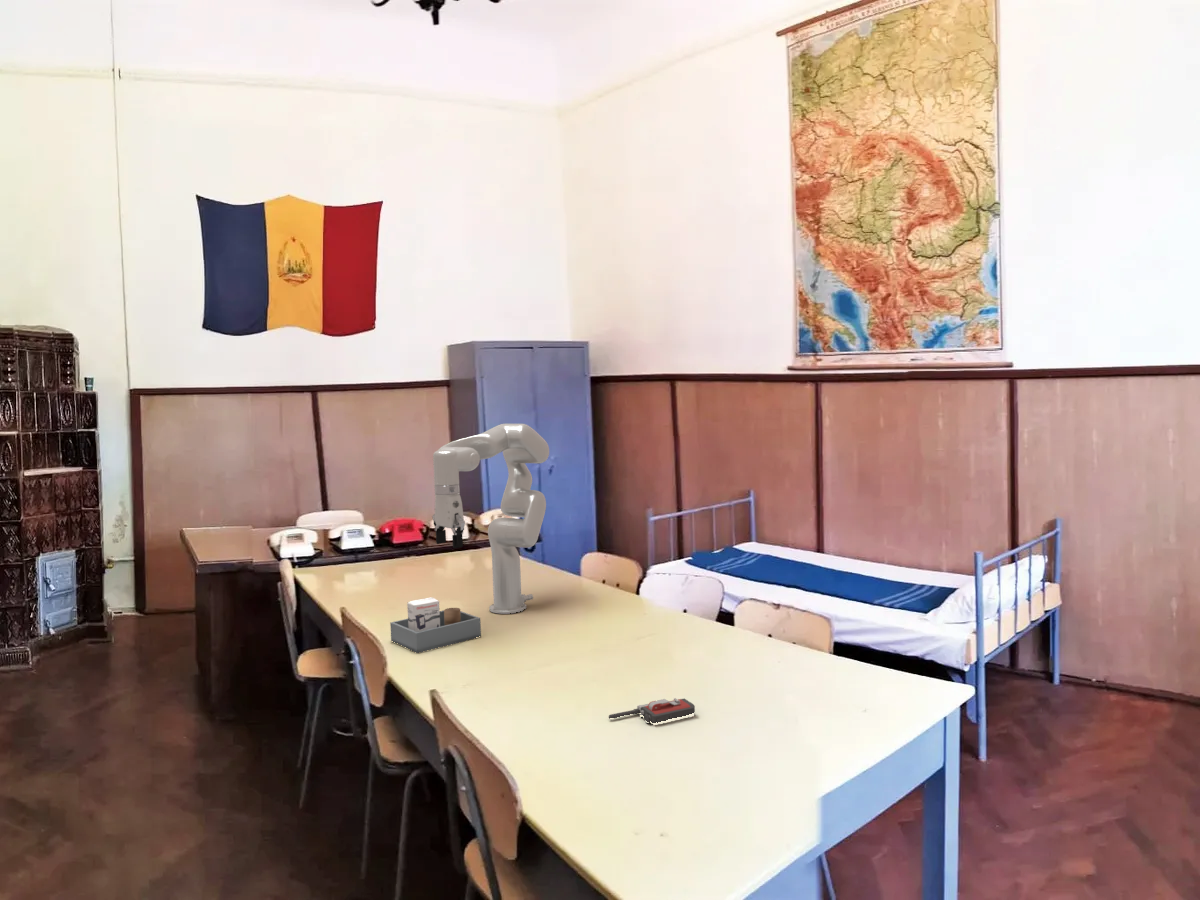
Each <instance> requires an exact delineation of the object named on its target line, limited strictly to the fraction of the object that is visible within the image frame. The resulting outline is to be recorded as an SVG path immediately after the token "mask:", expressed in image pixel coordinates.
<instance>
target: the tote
mask: <svg viewBox="0 0 1200 900" xmlns="http://www.w3.org/2000/svg"><path fill="white" fill-rule="evenodd" d="M444 610H445V609H443V610H439V611H440V627H437V628H433V629H429V630H425V631H420V632H416V631H413V630H411V629H409V627H408V618H404V619H400V620H396V621H392V622H389V625H390V642H391V641H393V642H395V643H398V644H400V645H402V646H404V647H406V648H408V649H410V650H409V651H411V650H412V651H411V652H413V651H414V653H415V652H416V653H415V654H420V653H419V652H421V653H424V652H423V651H425V652H428V651H427V650H429V651H432V650H431V649H433V650H436V649H435V648H437V649H439V648H438V647H441V648H444V647H448V646H452V645H456V644H459V642H460V643H463V641H464V642H466V640H468V641H470V640H469V639H472V640H475V639H477V638H476V637H479V636H481V637H482V628H481V627H482V626H481V617H478V616H476V615H473V614H471V613H467V612H464V611H461V610H460V614H461V622H458V623H454V624H450V625H445V624H444ZM474 638H475V639H474ZM479 638H480V637H479ZM393 642H392V643H393ZM395 643H394V644H395ZM451 644H452V645H451ZM400 645H399V646H400ZM447 645H448V646H447ZM402 646H401V647H402ZM443 646H444V647H443ZM404 647H403V648H404ZM406 648H405V649H406ZM408 649H407V650H408Z"/></svg>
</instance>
